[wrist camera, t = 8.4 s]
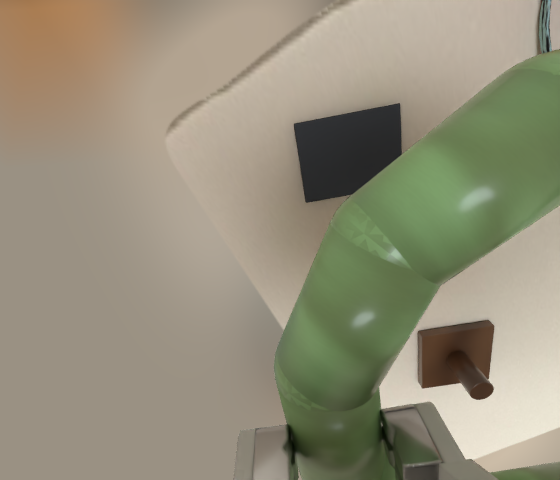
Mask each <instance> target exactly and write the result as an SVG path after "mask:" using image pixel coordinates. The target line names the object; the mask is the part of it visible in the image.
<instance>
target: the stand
mask: <svg viewBox="0 0 560 480" xmlns="http://www.w3.org/2000/svg"><path fill="white" fill-rule="evenodd" d="M493 334H494V325H493V324H492V323H491V322H490V321H481V322H475V323H468V324H462V325H456V326H449V327H443V328H436V329H430V330H423V331H418V353H419V384H420V385H421V387H422V388H429V387H436V386H443V385H450V384H457V383H461V384H462V385H463V386H464V388H465V389H466V391H467V392H468V393H469V395H470V396H471V397H472V398H473V399H476V400H481V399H485V398H487V397H489V396H490V395H491V394H492V392H493V390H494V388H493V385H492V384H491V383H490V382H489V380H488V379H489V372H490V362H491V353H492V343H493Z"/></svg>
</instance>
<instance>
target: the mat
mask: <svg viewBox="0 0 560 480" xmlns="http://www.w3.org/2000/svg"><path fill="white" fill-rule="evenodd" d="M294 129H295V135H296V142H297V148H298V155H299V161H300V168H301V174H302V181H303V187H304V194H305V201H306V203H307V202H313V201H319V200H324V199H330V198H335V197H341V196H346V195H352V194H353V193H355V192H356V191H357V190H358V189H360V188H361V187H362V186H363V185H365V184H366V183H367V182H368V181H370V180H371V179H372V178H373V177H375V176H376V175H377V174H378V173H380V172H381V171H382V170H383V169H384V168H386V167H387V166H388V165H389V164H391V163H392V162H393V161H394V160H396V159H397V158H398V157H399V156H401V155H402V151H401V115H400V103H399V104H393V105H388V106H383V107H378V108H373V109H368V110H362V111H357V112H352V113H347V114H342V115H337V116H332V117H327V118H321V119H316V120H311V121H306V122H301V123H296V124H294Z"/></svg>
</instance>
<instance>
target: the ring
mask: <svg viewBox="0 0 560 480" xmlns="http://www.w3.org/2000/svg"><path fill="white" fill-rule="evenodd" d="M558 206H560V49H559V50H554V51H550V52H547V53H543V54H540V55H537V56H535V57H532V58H529V59H527V60H525V61H523V62H521V63H519V64H517V65H515V66H513V67H512V68H510V69H509V70H507V71H506V72H504V73H503V74H501V75H500V76H499V77H497V78H496V79H495V80H494V81H492V82H491V83H490V84H489V85H487V86H486V87H485V88H484V89H482V90H481V91H480V92H479V93H477V94H476V95H475V96H474V97H473V98H471V99H470V100H469V101H468V102H466V103H465V104H464V105H463V106H461V107H460V108H459V109H458V110H456V111H455V112H454V113H453V114H451V115H450V116H449V117H448V118H446V119H445V120H444V121H443V122H442V123H440V124H439V125H438V126H437V127H435V128H434V129H433V130H432V131H430V132H429V133H428V134H427V135H425V136H424V137H423V138H422V139H420V140H419V141H418V142H417V143H415V144H414V145H413V146H412V147H411V148H409V149H408V150H407V151H406V152H404V153H403V154H402V155H401V156H399V157H398V158H397V159H396V160H394V161H393V162H392V163H391V164H389V165H388V166H387V167H386V168H384V169H383V170H382V171H381V172H380V173H378V174H377V175H376V176H375V177H373V178H372V179H371V180H370V181H368V182H367V183H366V184H365V185H363V186H362V187H361V188H360V189H358V190H357V191H356V192H355V193H353V194H352V195H351V196H350V197H349V198H347V199H346V200H345V201H344V202H343V203H342V204H341V205H340V207H339V208H338V209H337V211H336V212H335V214H334V215H333V218H332V220H331V221H330V224H329V226H328V229H327V231H326V233H325V236H324V238H323V240H322V243H321V245H320V247H319V250H318V252H317V254H316V257H315V259H314V261H313V264H312V266H311V268H310V271H309V273H308V276H307V278H306V280H305V283H304V285H303V287H302V290H301V292H300V294H299V297H298V299H297V301H296V304H295V306H294V308H293V311H292V313H291V315H290V318H289V320H288V322H287V325H286V327H285V330H284V332H283V334H282V337H281V339H280V341H279V344H278V347H277V350H276V353H275V360H274V373H275V380H276V384H277V388H278V391H279V395H280V399H281V403H282V407H283V411H284V414H285V418H286V422H287V424H289V428H290V432H291V439H292V441H293V443H294V447H295V451H296V456H297V464H298V468H299V472H300V475H301V477H302V480H396V478H395V469H394V468H393V467H392V466H391V465H390V464H389V461H388V458H387V455H386V451H385V448H384V444H383V437H382V422H381V416H380V409H381V403H380V392H379V386H380V384H381V382H382V381H383V379H384V378H385V376H386V374H387V373H388V371H389V369H390V368H391V366H392V364H393V363H394V361H395V360H396V358H397V356H398V355H399V353H400V351H401V350H402V348H403V346H404V345H405V343H406V342H407V340H408V338H409V337H410V335H411V333H412V332H413V330H414V328H415V327H416V325H417V324H418V322H419V320H420V319H421V317H422V315H423V314H424V312H425V310H426V309H427V307H428V306H429V304H430V302H431V301H432V299H433V297H434V296H435V294H436V292H437V291H438V289H439V288H440V286H441V285H442V284H444V283H445V282H447V281H448V280H450V279H451V278H453V277H454V276H456V275H457V274H459V273H460V272H462V271H463V270H465V269H466V268H468V267H469V266H470V265H472V264H473V263H475V262H476V261H478V260H479V259H481V258H482V257H484V256H485V255H487V254H488V253H490V252H491V251H493V250H494V249H496V248H497V247H499V246H500V245H502V244H503V243H505V242H506V241H508V240H509V239H511V238H512V237H514V236H515V235H517V234H518V233H520V232H521V231H522V230H524V229H525V228H527V227H528V226H530V225H531V224H533V223H534V222H536V221H537V220H539V219H540V218H542V217H543V216H545V215H546V214H548V213H549V212H551V211H552V210H554V209H555V208H557V207H558ZM490 474H492V475H493V476H494V477H496V478H497V479H498V480H560V462H554V463H548V464H541V465H536V466H529V467H523V468H517V469H510V470H504V471H498V472H491V473H490Z"/></svg>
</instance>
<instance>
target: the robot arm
mask: <svg viewBox="0 0 560 480" xmlns="http://www.w3.org/2000/svg"><path fill="white" fill-rule="evenodd" d="M380 416H381V422H382V425H383V426H382V437H383V444H384V448H385V451H386V455H387V458H388V461H389V464H390V465H391V466H392V467H393V468H394V469H395V478H396V480H498V479H497V478H496V477H494V476H493V475H492V474H490V473H489V472H488V471H486V470H485V469H484V468H482V467H481V466H480V465H478V464H477V463H476V462H475V461H473V460H472V459H467V460H466V459H465V458H464V456H463V454H462V452H461V451H460V449H459V447H458V446H457V444H456V442H455V440H454V439H453V437H452V435H451V433H450V432H449V430H448V428H447V427H446V425H445V423H444V421H443V420H442V418H441V416H440V414H439V413H438V411H437V409H436V407H435V406H434V404H432V403H431V402H424V403H419V404H409V405H403V406H397V407H391V408H386V409H380ZM298 478H299V476H298V465H297V456H296V451H295V447H294V443H293V441H292V439H291V432H290V428H289V424H286V425H279V426H272V427H264V428H256V429H250V430H242V431H240V433H239V436H238V443H237V452H236V461H235V469H234V478H233V480H298Z"/></svg>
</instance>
